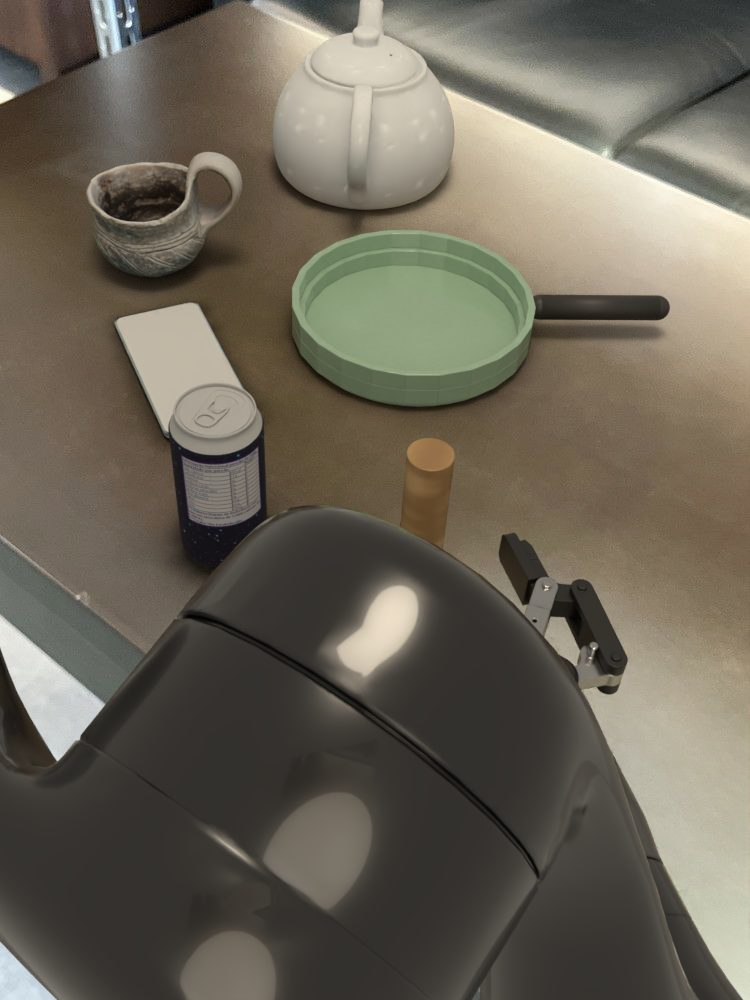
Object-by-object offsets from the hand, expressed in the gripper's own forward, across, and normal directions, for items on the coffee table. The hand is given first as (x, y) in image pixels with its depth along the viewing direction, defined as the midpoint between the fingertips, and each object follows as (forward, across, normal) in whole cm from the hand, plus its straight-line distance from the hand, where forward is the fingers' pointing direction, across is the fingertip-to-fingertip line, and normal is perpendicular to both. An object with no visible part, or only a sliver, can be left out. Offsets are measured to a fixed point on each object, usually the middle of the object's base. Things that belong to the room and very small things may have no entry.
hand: (434, 557), depth 64 cm
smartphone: (+30, +9, +9) cm, 33 cm away
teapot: (+56, -13, +9) cm, 58 cm away
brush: (+2, 0, +9) cm, 9 cm away
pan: (+31, -10, +9) cm, 33 cm away
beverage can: (+12, +10, +9) cm, 18 cm away
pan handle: (+27, -24, +7) cm, 37 cm away
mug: (+46, +7, +9) cm, 47 cm away
